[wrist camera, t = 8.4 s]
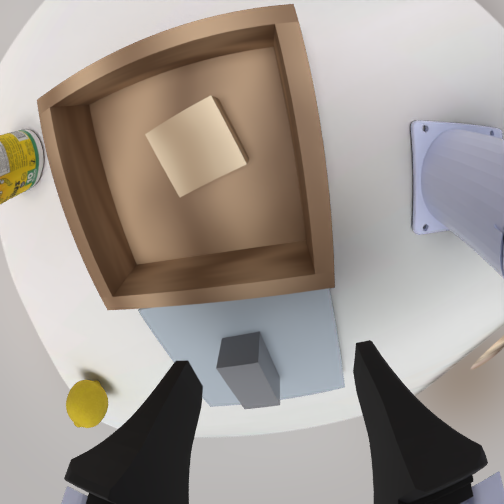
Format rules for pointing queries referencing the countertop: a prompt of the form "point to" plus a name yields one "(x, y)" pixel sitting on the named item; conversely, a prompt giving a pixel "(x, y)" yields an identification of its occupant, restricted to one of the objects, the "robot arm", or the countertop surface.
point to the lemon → (87, 403)
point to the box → (211, 194)
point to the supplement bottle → (19, 163)
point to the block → (197, 146)
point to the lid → (254, 346)
